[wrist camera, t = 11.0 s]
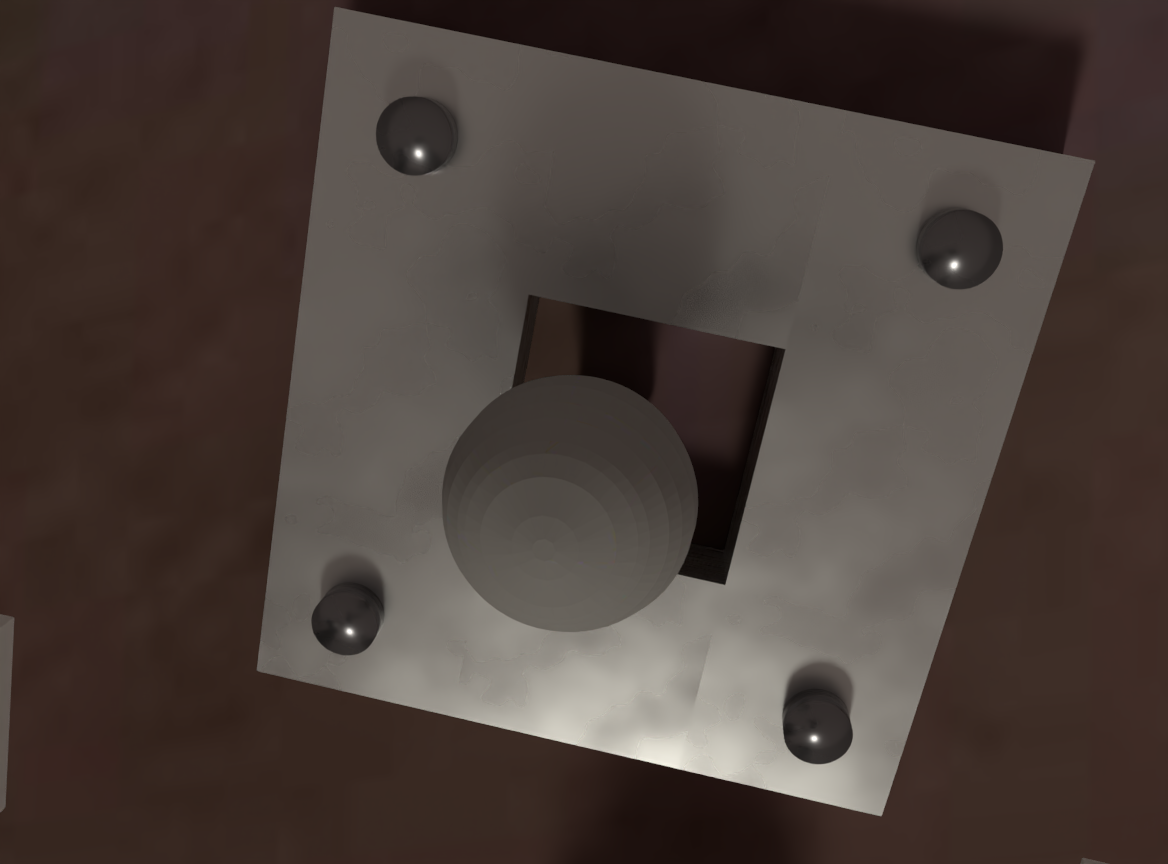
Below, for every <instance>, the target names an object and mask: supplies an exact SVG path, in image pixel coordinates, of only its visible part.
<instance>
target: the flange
mask: <svg viewBox="0 0 1168 864" xmlns="http://www.w3.org/2000/svg"><path fill="white" fill-rule="evenodd" d="M1094 163H1095V161H1093V160H1088V159H1083V158H1078V157H1073V156H1069V155H1064V154H1059V153H1054V152H1049V151H1044V150H1039V149H1034V148H1029V147H1024V146H1019V145H1014V144H1009V143H1004V142H999V141H994V140H990V139H985V138H980V137H975V136H970V135H965V134H960V133H955V132H950V131H945V130H940V129H935V128H930V127H925V126H920V125H915V124H911V123H906V122H901V121H896V120H891V119H886V118H881V117H876V116H871V115H866V114H861V113H856V112H851V111H846V110H841V109H837V108H832V107H827V106H822V105H817V104H812V103H807V102H802V101H797V100H792V99H787V98H782V97H777V96H772V95H767V94H762V93H758V92H753V91H748V90H743V89H738V88H733V87H728V86H723V85H718V84H713V83H708V82H703V81H698V80H693V79H688V78H684V77H679V76H674V75H669V74H664V73H659V72H654V71H649V70H644V69H639V68H634V67H629V66H624V65H619V64H614V63H609V62H605V61H600V60H595V59H590V58H585V57H580V56H575V55H570V54H565V53H560V52H555V51H550V50H545V49H540V48H535V47H530V46H526V45H521V44H516V43H511V42H506V41H501V40H496V39H491V38H486V37H481V36H476V35H471V34H466V33H461V32H456V31H452V30H447V29H442V28H437V27H432V26H427V25H422V24H417V23H412V22H407V21H402V20H397V19H392V18H387V17H382V16H377V15H373V14H368V13H363V12H358V11H353V10H348V9H343V8H338V7H334V16H333V24H332V33H331V41H330V50H329V59H328V67H327V76H326V84H325V93H324V101H323V110H322V118H321V127H320V135H319V144H318V152H317V161H316V170H315V178H314V187H313V195H312V204H311V212H310V221H309V229H308V238H307V246H306V255H305V264H304V272H303V281H302V289H301V298H300V306H299V315H298V323H297V332H296V340H295V349H294V357H293V366H292V375H291V383H290V392H289V400H288V409H287V417H286V426H285V434H284V443H283V451H282V460H281V469H280V477H279V486H278V494H277V503H276V511H275V520H274V528H273V537H272V545H271V554H270V562H269V571H268V580H267V588H266V597H265V605H264V614H263V622H262V631H261V639H260V648H259V656H258V665H257V671H260V672H264V673H268V674H273V675H277V676H281V677H285V678H290V679H294V680H298V681H303V682H307V683H311V684H316V685H320V686H324V687H328V688H333V689H337V690H341V691H346V692H350V693H354V694H358V695H363V696H367V697H371V698H376V699H380V700H384V701H389V702H393V703H397V704H401V705H406V706H410V707H414V708H419V709H423V710H427V711H431V712H436V713H440V714H444V715H449V716H453V717H457V718H462V719H466V720H470V721H474V722H479V723H483V724H487V725H492V726H496V727H500V728H504V729H509V730H513V731H517V732H522V733H526V734H530V735H535V736H539V737H543V738H547V739H552V740H556V741H560V742H565V743H569V744H573V745H577V746H582V747H586V748H590V749H595V750H599V751H603V752H608V753H612V754H616V755H620V756H625V757H629V758H633V759H638V760H642V761H646V762H650V763H655V764H659V765H663V766H668V767H672V768H676V769H681V770H685V771H689V772H693V773H698V774H702V775H706V776H711V777H715V778H719V779H723V780H728V781H732V782H736V783H741V784H745V785H749V786H754V787H758V788H762V789H766V790H771V791H775V792H779V793H784V794H788V795H792V796H796V797H801V798H805V799H809V800H814V801H818V802H822V803H827V804H831V805H835V806H839V807H844V808H848V809H852V810H857V811H861V812H865V813H869V814H874V815H878V816H882V813H883V810H884V807H885V804H886V801H887V798H888V795H889V792H890V789H891V785H892V782H893V779H894V776H895V773H896V770H897V767H898V764H899V761H900V758H901V755H902V752H903V749H904V746H905V743H906V739H907V736H908V733H909V730H910V727H911V724H912V721H913V718H914V715H915V712H916V709H917V706H918V703H919V700H920V697H921V694H922V690H923V687H924V684H925V681H926V678H927V675H928V672H929V669H930V666H931V663H932V660H933V657H934V654H935V651H936V648H937V644H938V641H939V638H940V635H941V632H942V629H943V626H944V623H945V620H946V617H947V614H948V611H949V608H950V605H951V602H952V598H953V595H954V592H955V589H956V586H957V583H958V580H959V577H960V574H961V571H962V568H963V565H964V562H965V559H966V556H967V553H968V549H969V546H970V543H971V540H972V537H973V534H974V531H975V528H976V525H977V522H978V519H979V516H980V513H981V510H982V507H983V503H984V500H985V497H986V494H987V491H988V488H989V485H990V482H991V479H992V476H993V473H994V470H995V467H996V464H997V461H998V457H999V454H1000V451H1001V448H1002V445H1003V442H1004V439H1005V436H1006V433H1007V430H1008V427H1009V424H1010V421H1011V418H1012V415H1013V411H1014V408H1015V405H1016V402H1017V399H1018V396H1019V393H1020V390H1021V387H1022V384H1023V381H1024V378H1025V375H1026V372H1027V369H1028V366H1029V362H1030V359H1031V356H1032V353H1033V350H1034V347H1035V344H1036V341H1037V338H1038V335H1039V332H1040V329H1041V326H1042V323H1043V320H1044V316H1045V313H1046V310H1047V307H1048V304H1049V301H1050V298H1051V295H1052V292H1053V289H1054V286H1055V283H1056V280H1057V277H1058V274H1059V270H1060V267H1061V264H1062V261H1063V258H1064V255H1065V252H1066V249H1067V246H1068V243H1069V240H1070V237H1071V234H1072V231H1073V228H1074V225H1075V221H1076V218H1077V215H1078V212H1079V209H1080V206H1081V203H1082V200H1083V197H1084V194H1085V191H1086V188H1087V185H1088V182H1089V179H1090V175H1091V172H1092V169H1093V166H1094ZM539 297H543V298H548V299H553V300H557V301H562V302H567V303H571V304H576V305H581V306H586V307H590V308H595V309H600V310H604V311H609V312H614V313H618V314H623V315H628V316H632V317H637V318H642V319H646V320H651V321H656V322H660V323H665V324H670V325H675V326H679V327H684V328H689V329H693V330H698V331H703V332H707V333H712V334H717V335H721V336H726V337H731V338H735V339H740V340H745V341H749V342H754V343H759V344H764V345H768V346H773V347H775V350H774V354H773V358H772V362H771V366H770V370H769V374H768V378H767V382H766V386H765V390H764V394H763V398H762V402H761V406H760V410H759V414H758V418H757V421H756V425H755V429H754V433H753V437H752V441H751V445H750V449H749V453H748V457H747V461H746V465H745V469H744V473H743V477H742V481H741V485H740V489H739V493H738V497H737V501H736V505H735V508H734V512H733V516H732V520H731V524H730V528H729V532H728V536H727V540H726V544H725V548H724V550H721V549H716V548H712V547H707V546H703V545H698V544H694V543H691V544H690V547H689V550H688V553H687V556H686V558H685V561H684V563H683V565H682V567H681V568H680V570H679V572H678V574H677V575H676V577H675V578H674V580H673V581H672V582H671V584H670V585H669V586H668V587H667V588H666V590H665V591H664V592H663V593H662V594H661V595H660V596H659V597H657V598H656V599H655V600H654V601H653V602H651V603H650V604H649V605H648V606H646V607H645V608H643V609H641V610H640V611H638V612H637V613H635V614H633V615H631V616H630V617H628V618H626V619H624V620H622V621H620V622H618V623H615V624H612V625H610V626H607V627H603V628H600V629H596V630H590V631H582V632H559V631H550V630H544V629H539V628H535V627H532V626H529V625H526V624H523V623H521V622H518V621H516V620H514V619H512V618H510V617H508V616H506V615H504V614H503V613H501V612H500V611H498V610H497V609H495V608H494V607H493V606H491V605H490V604H489V603H488V602H486V601H485V600H484V599H483V598H482V597H481V596H480V595H479V594H478V593H477V592H476V591H475V590H474V589H473V587H472V586H471V585H470V584H469V582H468V581H467V580H466V579H465V577H464V576H463V574H462V573H461V571H460V569H459V568H458V566H457V564H456V562H455V560H454V558H453V556H452V554H451V551H450V549H449V546H448V543H447V539H446V536H445V531H444V526H443V516H442V486H443V479H444V474H445V470H446V466H447V463H448V460H449V457H450V455H451V453H452V451H453V448H454V447H455V445H456V443H457V441H458V440H459V438H460V436H461V435H462V434H463V432H464V431H465V429H466V428H467V427H468V426H469V425H470V424H471V422H472V421H473V420H474V419H475V418H476V417H477V416H478V414H479V413H480V412H481V411H482V410H483V409H484V408H485V407H486V406H487V405H488V404H490V403H491V402H492V401H493V400H494V399H496V398H497V397H499V396H500V395H501V394H503V393H505V392H507V391H508V390H510V389H512V388H514V387H516V386H518V385H521V384H523V383H524V379H525V373H526V368H527V363H528V357H529V352H530V346H531V341H532V335H533V330H534V324H535V319H536V314H537V308H538V303H539Z"/></svg>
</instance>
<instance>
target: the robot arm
mask: <svg viewBox="0 0 1168 864" xmlns="http://www.w3.org/2000/svg"><path fill="white" fill-rule="evenodd" d="M13 633H14V617H10V616H6V615H1V614H0V812H1V811H2V810H3V809H4V808H5V802H6V781H7V759H8V738H9V717H10V696H11V675H12V654H13ZM1080 864H1107V863H1103V862H1099V861H1094V860H1090V859H1085V858H1082V860H1081V863H1080Z"/></svg>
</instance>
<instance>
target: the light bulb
mask: <svg viewBox="0 0 1168 864" xmlns="http://www.w3.org/2000/svg"><path fill="white" fill-rule="evenodd" d="M697 513H698V490H697V483H696V477H695V473H694V469H693V466H692V463H691V460H690V458H689V455H688V453H687V451H686V449H685V447H684V445H683V443H682V441H681V439H680V438H679V436H678V434H677V433H676V431H675V429H674V428H673V427H672V425H671V424H670V423H669V421H668V420H667V419H666V418H665V417H664V415H663V414H662V413H661V412H660V411H659V410H658V409H657V408H656V407H655V406H653V405H652V404H651V403H650V402H649V401H647V400H646V399H645V398H643V397H642V396H640V395H639V394H637V393H636V392H634V391H632V390H630V389H628V388H626V387H624V386H622V385H620V384H617V383H614V382H612V381H609V380H605V379H601V378H597V377H591V376H581V375H563V376H552V377H545V378H540V379H536V380H532V381H529V382H526V383H523V384H521V385H518V386H516V387H514V388H512V389H510V390H508V391H507V392H505V393H503V394H501V395H500V396H499V397H497V398H496V399H494V400H493V401H492V402H491V403H490V404H488V405H487V406H486V407H485V408H484V409H483V410H482V411H481V412H480V413H479V414H478V416H477V417H476V418H475V419H474V420H473V421H472V422H471V424H470V425H469V426H468V427H467V428H466V429H465V431H464V432H463V434H462V435H461V436H460V438H459V440H458V441H457V443H456V445H455V447H454V448H453V451H452V453H451V455H450V457H449V460H448V463H447V466H446V470H445V474H444V479H443V486H442V516H443V526H444V531H445V536H446V539H447V543H448V546H449V549H450V551H451V554H452V556H453V558H454V560H455V562H456V564H457V566H458V568H459V569H460V571H461V573H462V574H463V576H464V577H465V579H466V580H467V581H468V582H469V584H470V585H471V586H472V587H473V589H474V590H475V591H476V592H477V593H478V594H479V595H480V596H481V597H482V598H483V599H484V600H485V601H486V602H488V603H489V604H490V605H491V606H493V607H494V608H495V609H497V610H498V611H500V612H501V613H503V614H504V615H506V616H508V617H510V618H512V619H514V620H516V621H518V622H521V623H523V624H526V625H529V626H532V627H535V628H539V629H544V630H550V631H559V632H582V631H590V630H596V629H600V628H603V627H607V626H610V625H612V624H615V623H618V622H620V621H622V620H624V619H626V618H628V617H630V616H631V615H633V614H635V613H637V612H638V611H640V610H641V609H643V608H645V607H646V606H648V605H649V604H650V603H651V602H653V601H654V600H655V599H656V598H657V597H659V596H660V595H661V594H662V593H663V592H664V591H665V590H666V588H667V587H668V586H669V585H670V584H671V582H672V581H673V580H674V578H675V577H676V575H677V574H678V572H679V570H680V568H681V567H682V565H683V563H684V561H685V558H686V556H687V553H688V550H689V547H690V544H691V540H692V537H693V533H694V530H695V526H696V520H697Z"/></svg>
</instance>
